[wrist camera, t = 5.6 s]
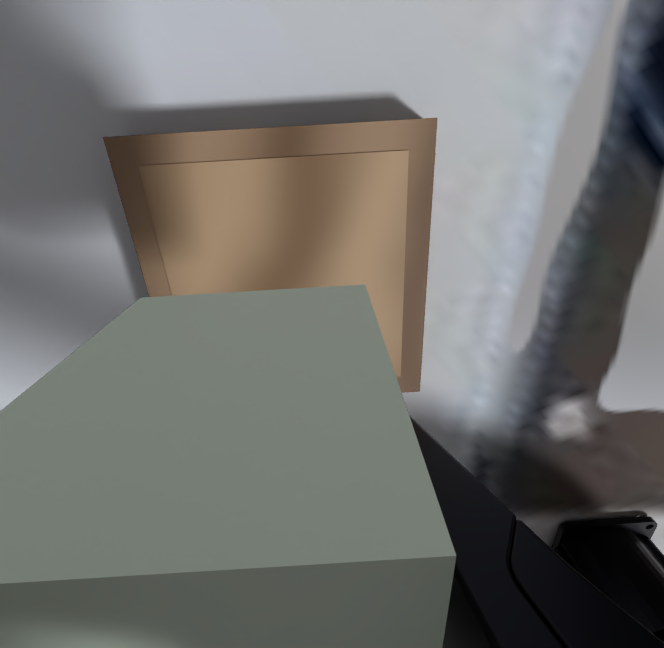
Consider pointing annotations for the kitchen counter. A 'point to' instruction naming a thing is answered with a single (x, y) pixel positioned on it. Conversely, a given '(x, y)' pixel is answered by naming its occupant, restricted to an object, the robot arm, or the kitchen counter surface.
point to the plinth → (288, 215)
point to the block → (222, 485)
